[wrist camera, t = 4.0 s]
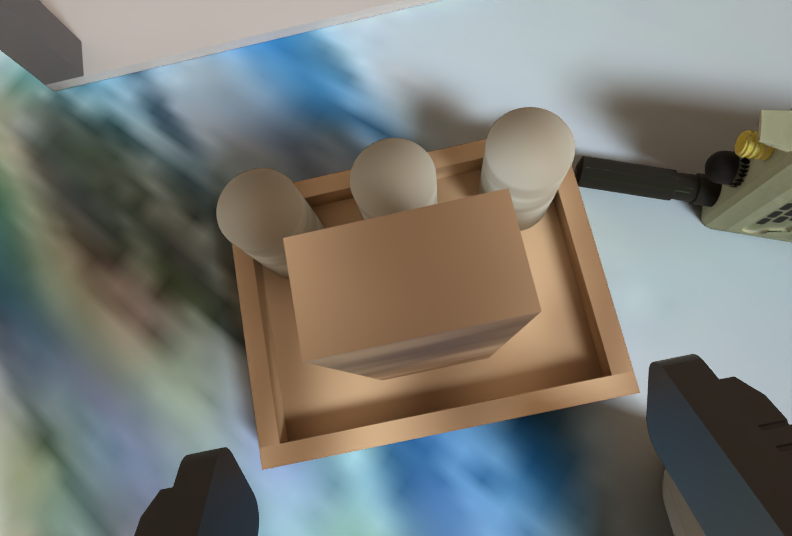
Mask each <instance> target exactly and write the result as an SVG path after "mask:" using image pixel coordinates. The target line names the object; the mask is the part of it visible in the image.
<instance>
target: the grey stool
mask: <svg viewBox="0 0 792 536" xmlns="http://www.w3.org/2000/svg"><path fill="white" fill-rule="evenodd" d="M435 1H439V0H41V2H40V1H39V0H0V50H1V51H2V52H4V53H5V54H6V55H7V56H9V57H10V58H11V59H13V60H14V61H15V62H17V63H18V64H19V65H20V66H22V67H23V68H24V69H26V70H27V71H28V72H29V73H31V74H32V75H33V76H35V77H36V78H37V79H38V80H40V81H41V82H42V83H44V84H45V85H46V86H48V87H49V88H50V89H51V90H53V91H58V90H62V89H66V88H70V87H75V86H79V85H83V84H87V83H92V82H96V81H100V80H104V79H109V78H113V77H117V76H121V75H126V74H130V73H134V72H138V71H143V70H147V69H151V68H155V67H159V66H164V65H168V64H172V63H176V62H181V61H185V60H189V59H193V58H198V57H202V56H206V55H210V54H215V53H219V52H223V51H227V50H232V49H236V48H240V47H244V46H248V45H253V44H257V43H261V42H265V41H270V40H274V39H278V38H282V37H287V36H291V35H295V34H299V33H304V32H308V31H312V30H316V29H321V28H325V27H329V26H333V25H337V24H342V23H346V22H350V21H354V20H359V19H363V18H367V17H371V16H376V15H380V14H384V13H388V12H393V11H397V10H401V9H405V8H410V7H414V6H418V5H422V4H426V3H431V2H435Z"/></svg>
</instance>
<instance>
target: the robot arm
mask: <svg viewBox="0 0 792 536" xmlns="http://www.w3.org/2000/svg"><path fill="white" fill-rule="evenodd" d="M646 421H647V428H648V432H649V436H650V439H651V442H652V444H653V446H654V449H655V451H656V452H657V454H658V456H659V458H660V459H661V461H662V463H663V464H664V466H665V468H666V469H667V471H668V473H669V474H670V476H671V478H672V479H673V481H674V483H675V484H676V486H677V488H678V490H679V491H680V493H681V495H682V496H683V498H684V500H685V501H686V503H687V505H688V506H689V508H690V510H691V511H692V513H693V515H694V516H695V518H696V520H697V521H698V523H699V525H700V526H701V528H702V530H703V531H704V533H705V535H706V536H792V425H789V424H788V422H787V419H786V418H785V417H784V416H783V414H782V413H781V412H780V411H779V410H778V409H777V408H776V407H775V406H774V404H773V403H772V402H771V401H770V400H769V399H768V398H767V397H766V396H765V395H764V394H762V393H761V392H759V391H757V390H756V389H754V388H752V387H751V386H749V385H747V384H746V383H744V382H743V381H741V380H739V379H738V378H736V377H730V378H725V379H720V380H719V379H718V377H717V376H716V375H715V374H714V373H713V371H712V370H711V369H710V368H709V367H708V365H707V364H706V363H705V362H704V361H703V360H702V359H701V358H700V357H699V356H698V355H696V354H690V355H685V356H680V357H676V358H671V359H666V360H661V361H656V362H652V363H651V364H650V367H649V377H648V396H647V415H646ZM258 529H259V512H258V505H257V501H256V498H255V495H254V493H253V491H252V489H251V488H250V486H249V484H248V482H247V480H246V478H245V476H244V475H243V473H242V471H241V469H240V467H239V465H238V463H237V462H236V460H235V458H234V456H233V454H232V452H231V451H230V450H229V449H228V448H226V447H224V448H219V449H214V450H209V451H204V452H199V453H194V454H189V455H186V456H185V457H184V458H183V460H182V461H181V464H180V467H179V470H178V473H177V476H176V479H175V482H174V486H173V487H172V488H167V489H162V490H160V491H159V493H158V494H157V495H156V497H155V498H154V500H153V501H152V502H151V504H150V505H149V507H148V508H147V509H146V511H145V512H144V514H143V515H142V516H141V518H140V521H139V524H138V527H137V529H136V532H135V535H134V536H258Z"/></svg>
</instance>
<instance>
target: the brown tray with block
mask: <svg viewBox="0 0 792 536" xmlns="http://www.w3.org/2000/svg"><path fill="white" fill-rule="evenodd" d="M574 155H575V142H574V137H573V135H572V132H571V130H570V129H569V127H568V126H567V124H566V123H565V122H564V121H563V120H562V119H561V118H560V117H558V116H557V115H555V114H554V113H552V112H550V111H548V110H545V109H541V108H535V107H524V108H519V109H515V110H512V111H510V112H508V113H506V114H504V115H503V116H502V117H500V118H499V119H498V120H497V121H496V122H495V123H494V125H493V126H492V127H491V129H490V131H489V133H488V136H487V139H483V140H479V141H474V142H470V143H466V144H461V145H457V146H452V147H448V148H443V149H439V150H435V151H430V152H426V151H425V150H424V149H423V148H422V147H421V146H419V145H418V144H416V143H414V142H412V141H410V140H407V139H402V138H388V139H383V140H379V141H377V142H375V143H373V144H371V145H369V146H368V147H366V148H365V149H364V150H363V151H362V152H361V153H360V154H359V155H358V157H357V158H356V160H355V161H354V164H353V166H352V169H350V170H346V171H341V172H337V173H333V174H328V175H324V176H319V177H315V178H310V179H306V180H302V181H297V182H292V181H291V180H290V179H289V178H288V177H287V176H286V175H284V174H283V173H281V172H279V171H276V170H273V169H269V168H256V169H251V170H247V171H245V172H243V173H241V174H239V175H237V176H236V177H235V178H233V179H232V180H231V181H230V182H229V183H228V184H227V185H226V186H225V188H224V189H223V191H222V193H221V195H220V197H219V200H218V203H217V211H216V214H217V222H218V225H219V228H220V230H221V232H222V233H223V234H224V236H225V237H226V238H227V239H228V240H229V241H230V242H232V249H233V256H234V264H235V271H236V278H237V286H238V293H239V301H240V308H241V316H242V323H243V331H244V338H245V345H246V353H247V360H248V368H249V375H250V383H251V390H252V398H253V405H254V413H255V420H256V427H257V435H258V442H259V450H260V457H261V465H262V470H264V469H269V468H274V467H278V466H283V465H288V464H293V463H298V462H303V461H308V460H313V459H318V458H322V457H327V456H332V455H337V454H342V453H347V452H352V451H357V450H362V449H367V448H371V447H376V446H381V445H386V444H391V443H396V442H401V441H406V440H411V439H416V438H420V437H425V436H430V435H435V434H440V433H445V432H450V431H455V430H460V429H464V428H469V427H474V426H479V425H484V424H489V423H494V422H499V421H504V420H509V419H513V418H518V417H523V416H528V415H533V414H538V413H543V412H548V411H553V410H557V409H562V408H567V407H572V406H577V405H582V404H587V403H592V402H597V401H602V400H606V399H611V398H616V397H621V396H626V395H631V394H636V393H640V391H639V388H638V384H637V381H636V378H635V374H634V371H633V368H632V364H631V361H630V358H629V354H628V351H627V348H626V344H625V341H624V338H623V334H622V331H621V328H620V324H619V321H618V318H617V314H616V311H615V308H614V304H613V301H612V298H611V294H610V291H609V288H608V284H607V281H606V278H605V274H604V271H603V268H602V264H601V261H600V258H599V254H598V251H597V248H596V244H595V241H594V238H593V234H592V231H591V228H590V224H589V221H588V218H587V214H586V211H585V208H584V204H583V201H582V198H581V194H580V191H579V188H578V184H577V181H576V178H575V175H574V171H573V168H572V165H571V164H572V162H573V159H574Z"/></svg>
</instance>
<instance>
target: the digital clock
mask: <svg viewBox="0 0 792 536" xmlns="http://www.w3.org/2000/svg"><path fill="white" fill-rule="evenodd" d="M662 494H663V501H664V505H665V508H666V511H667V514H668V518H669V521H670V524H671V527H672V530H673V533H674V536H706V535H705V533H704V531H703V530H702V528H701V526H700V525H699V523H698V521H697V520H696V518H695V516H694V515H693V513H692V511H691V510H690V508H689V506H688V505H687V503H686V501H685V500H684V498H683V496H682V495H681V493H680V491H679V490H678V488H677V486H676V484H675V483H674V481H673V479H672V478H671V476H670V474H669V473H668V471H667V469H665V471H664V476H663V484H662Z"/></svg>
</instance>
